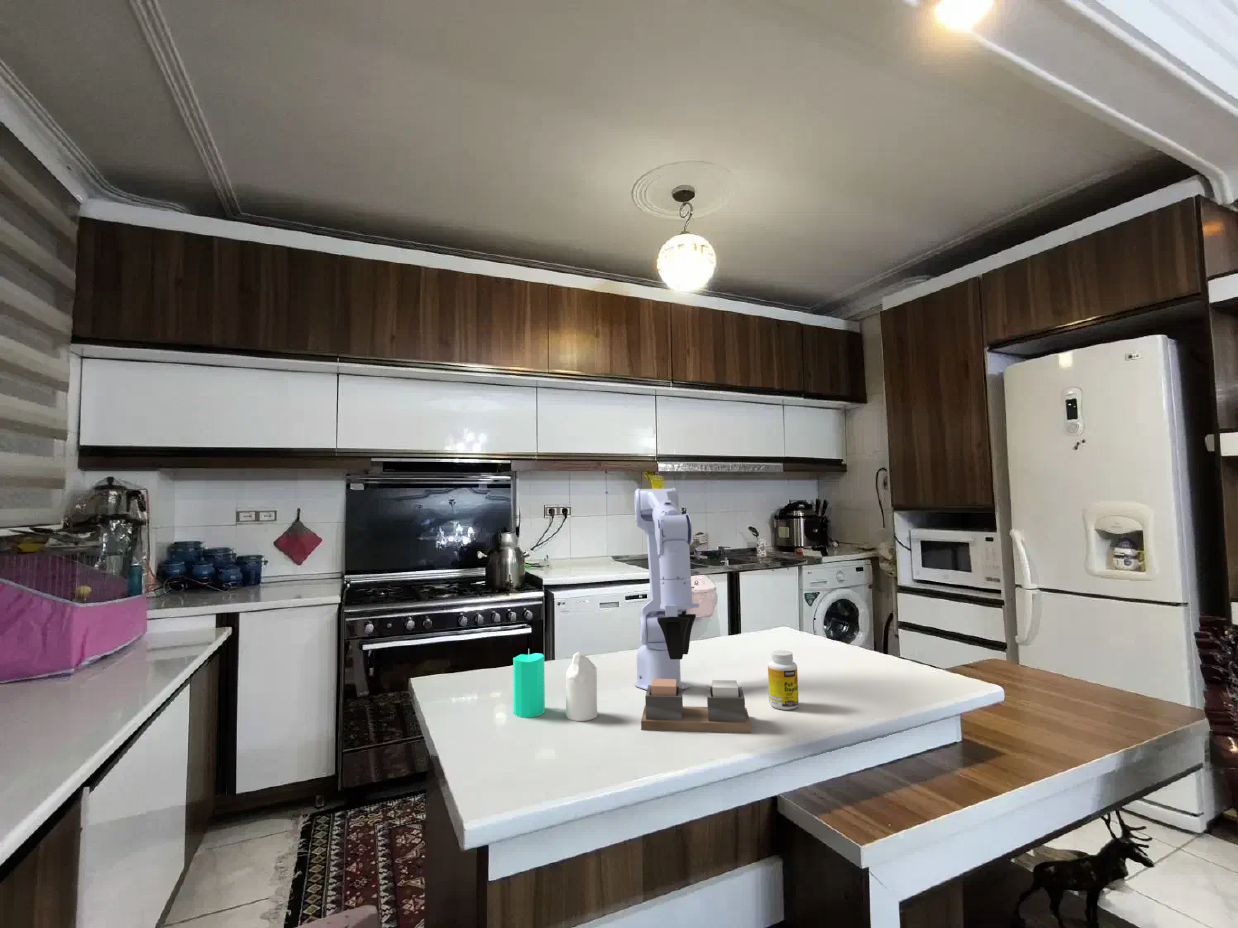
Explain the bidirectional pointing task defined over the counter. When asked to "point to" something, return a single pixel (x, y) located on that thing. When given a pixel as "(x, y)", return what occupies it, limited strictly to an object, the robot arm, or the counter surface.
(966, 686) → the counter surface
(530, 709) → the candle
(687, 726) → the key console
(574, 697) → the white bottle
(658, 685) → the clay key
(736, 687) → the white key
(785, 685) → the supplement bottle
